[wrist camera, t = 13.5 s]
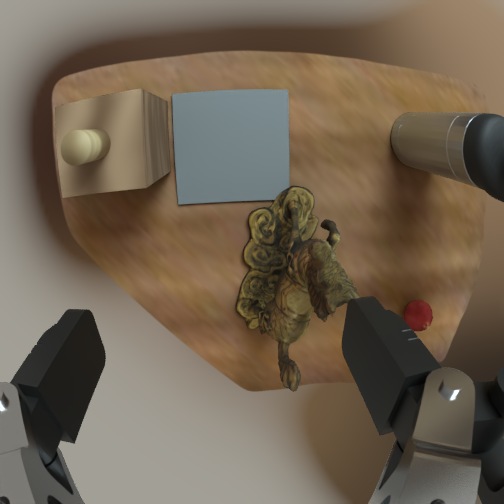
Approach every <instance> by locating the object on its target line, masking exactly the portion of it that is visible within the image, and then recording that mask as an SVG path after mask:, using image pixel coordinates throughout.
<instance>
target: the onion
mask: <svg viewBox="0 0 504 504" xmlns="http://www.w3.org/2000/svg"><path fill="white" fill-rule="evenodd" d="M432 319H433V317H432V309H431V307H430V306H429V304H428V303H426V302H424V301H422V300H415V301H412V302H410V303H409V304H408V305H407V306H406V308H405V311H404V320H405V322H406V323H407V324H408V325H409V327H410V328H411V329H412V330H413V331H423V330H425V329H426V330H427V329H428V328H429V326H430V325H431V322H432Z"/></svg>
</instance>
